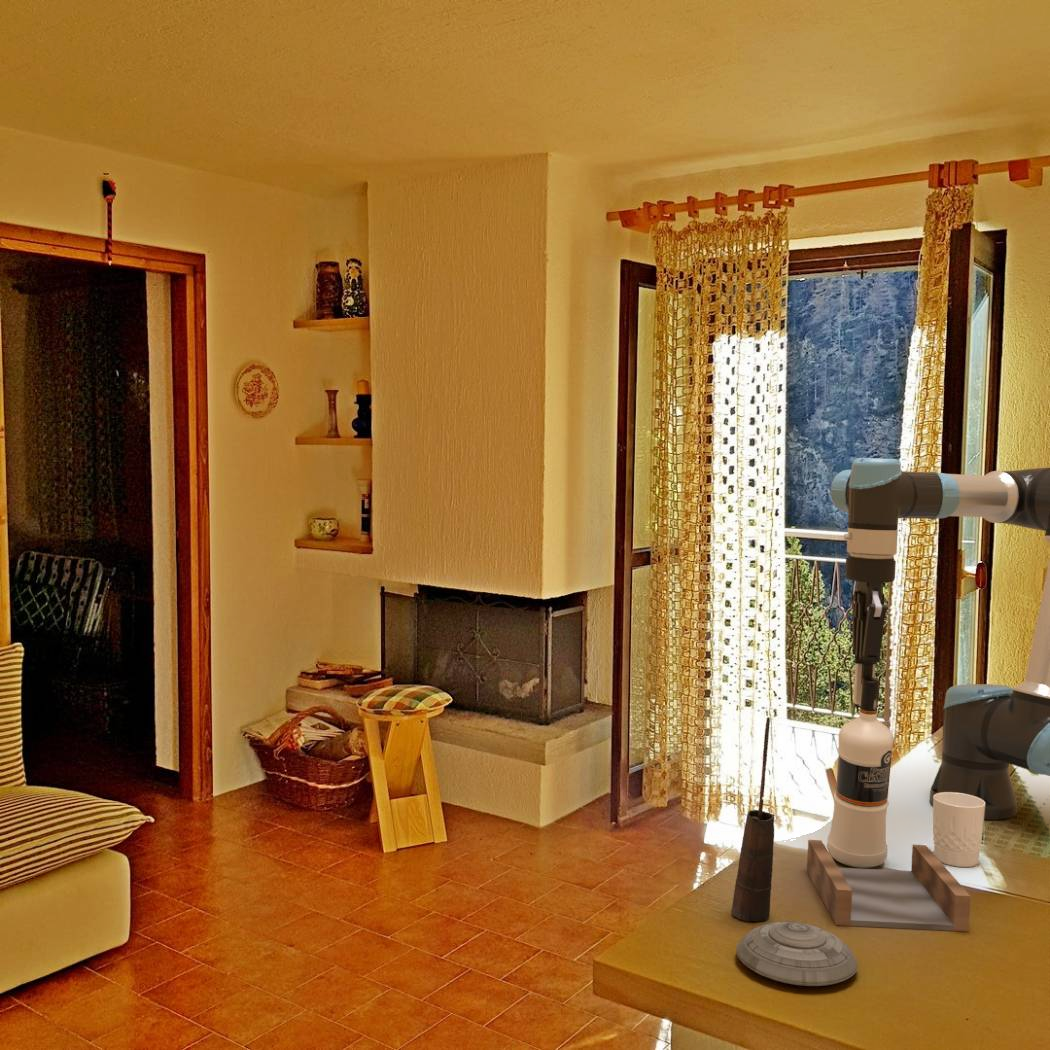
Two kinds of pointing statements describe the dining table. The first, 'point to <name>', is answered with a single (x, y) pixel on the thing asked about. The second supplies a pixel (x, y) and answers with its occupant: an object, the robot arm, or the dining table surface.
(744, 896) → the butter churn
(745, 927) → the dining table surface
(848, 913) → the u rest
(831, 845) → the vodka
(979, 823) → the white cup
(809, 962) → the flying saucer
